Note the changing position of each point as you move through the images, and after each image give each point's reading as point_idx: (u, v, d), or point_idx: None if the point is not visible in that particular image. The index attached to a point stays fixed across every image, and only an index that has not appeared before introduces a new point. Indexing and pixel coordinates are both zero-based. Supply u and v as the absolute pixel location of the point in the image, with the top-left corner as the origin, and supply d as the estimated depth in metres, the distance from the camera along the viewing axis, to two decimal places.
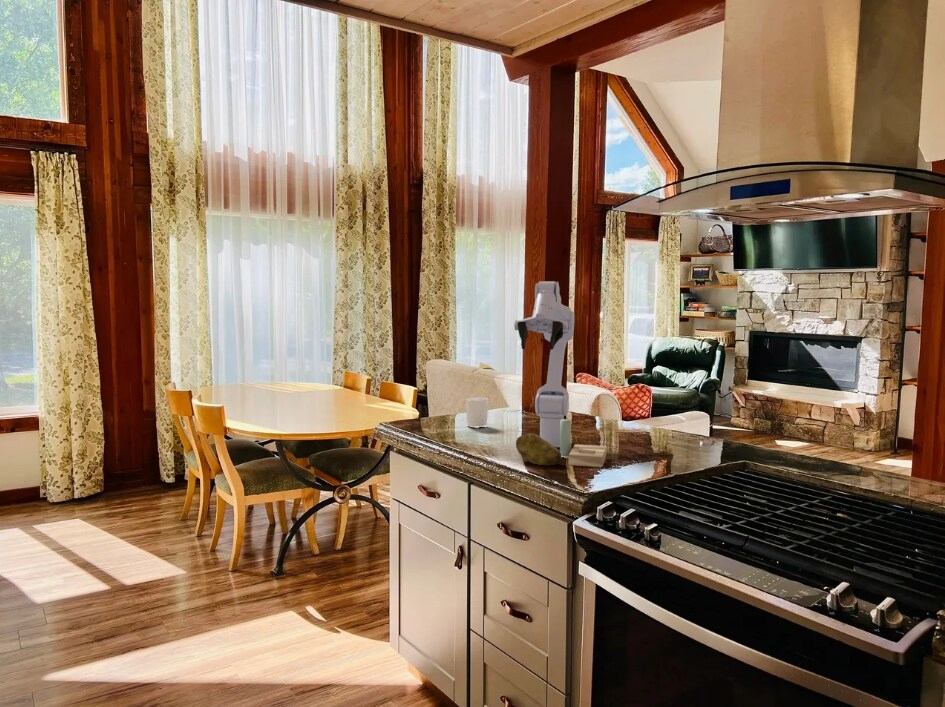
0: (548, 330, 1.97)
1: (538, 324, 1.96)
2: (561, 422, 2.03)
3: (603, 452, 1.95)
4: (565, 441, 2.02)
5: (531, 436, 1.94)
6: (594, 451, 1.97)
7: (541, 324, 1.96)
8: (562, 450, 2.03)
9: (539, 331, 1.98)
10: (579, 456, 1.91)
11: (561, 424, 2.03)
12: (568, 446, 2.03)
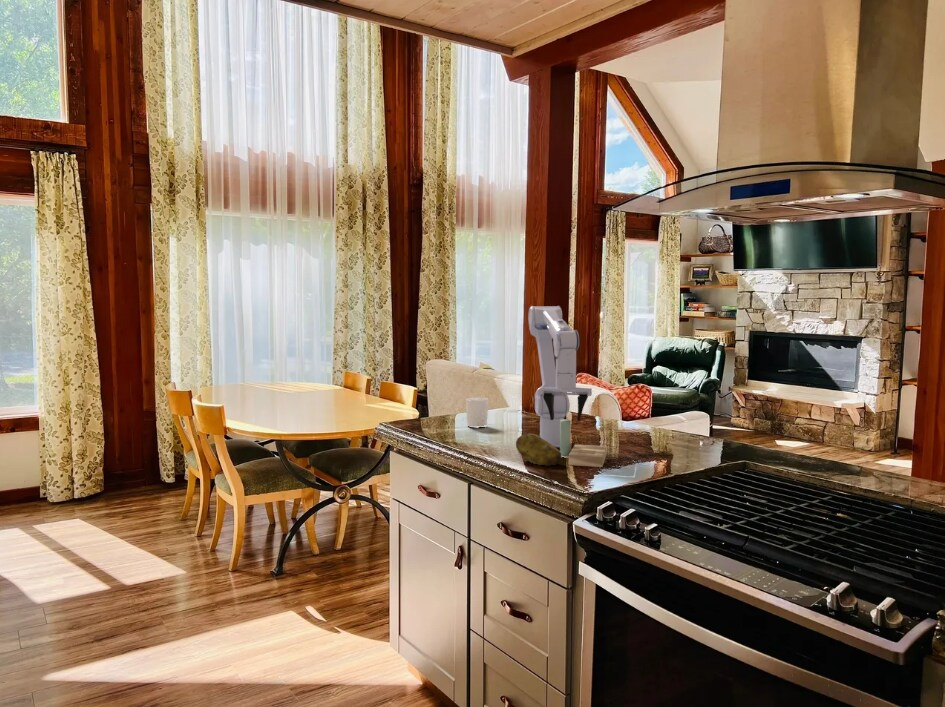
0: None
1: None
2: (561, 422, 2.03)
3: (603, 452, 1.95)
4: (565, 441, 2.02)
5: (531, 436, 1.94)
6: (594, 451, 1.97)
7: None
8: (562, 450, 2.03)
9: None
10: (579, 456, 1.91)
11: (561, 424, 2.03)
12: (568, 446, 2.03)
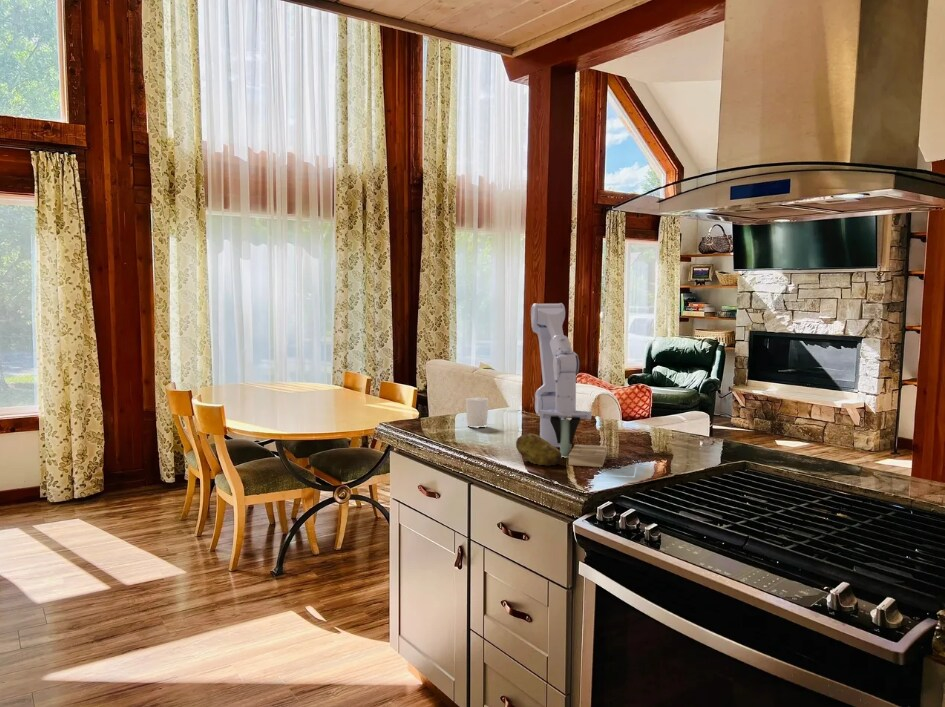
0: None
1: None
2: (561, 422, 2.03)
3: (603, 452, 1.95)
4: (565, 441, 2.02)
5: (531, 436, 1.94)
6: (594, 451, 1.97)
7: None
8: (562, 450, 2.03)
9: None
10: (579, 456, 1.91)
11: (561, 424, 2.03)
12: (568, 446, 2.03)
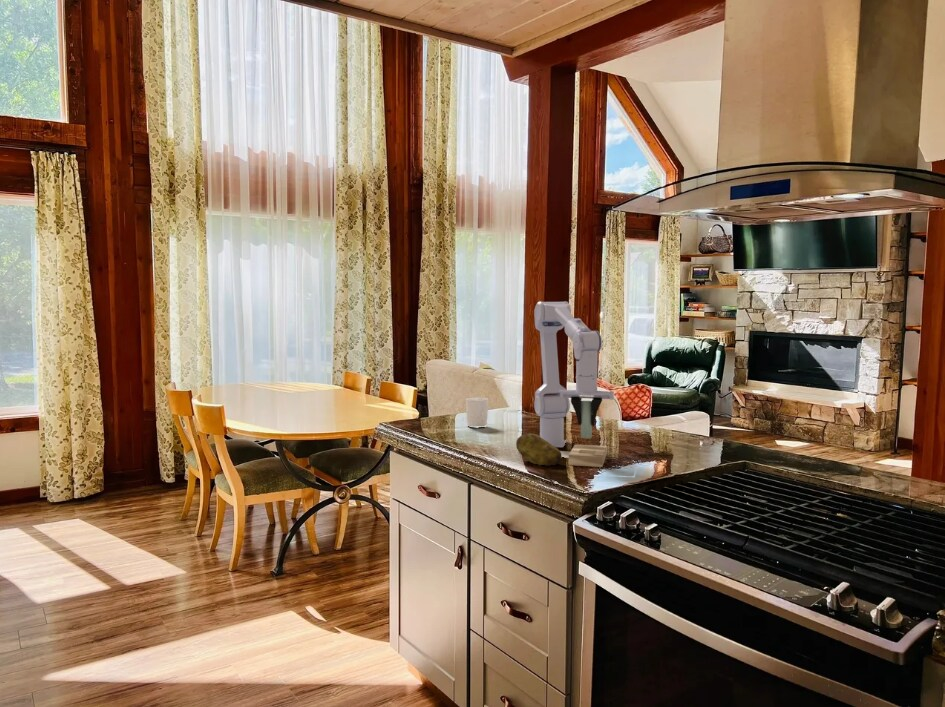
0: None
1: None
2: (582, 403, 1.94)
3: (603, 452, 1.95)
4: (587, 423, 1.94)
5: (531, 436, 1.94)
6: (594, 451, 1.97)
7: None
8: (583, 432, 1.94)
9: None
10: (579, 456, 1.91)
11: (582, 405, 1.94)
12: (590, 428, 1.94)
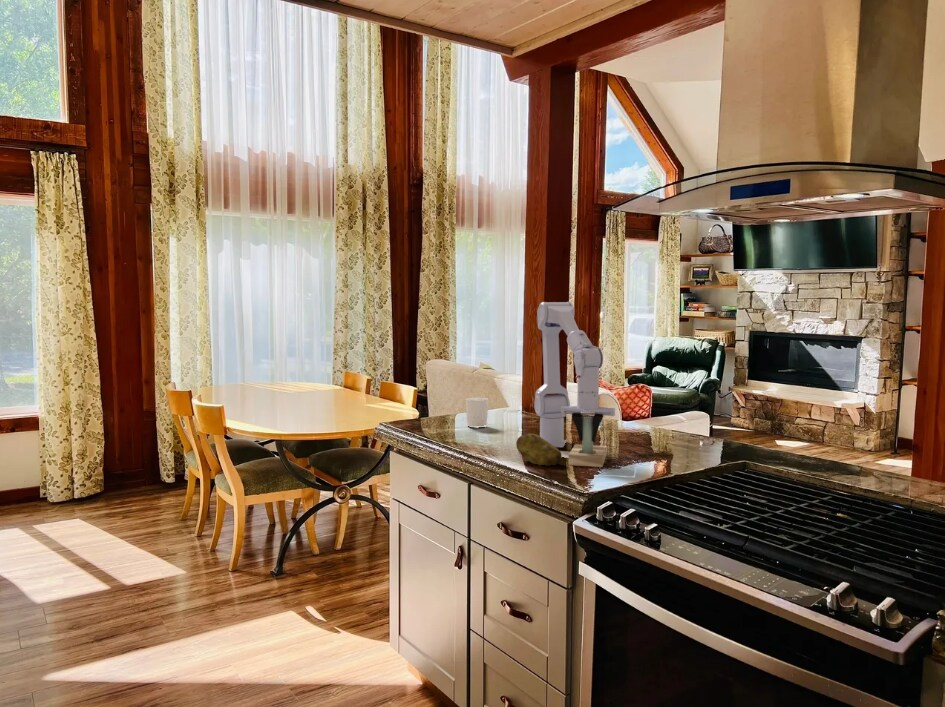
0: None
1: None
2: (583, 420, 1.94)
3: (603, 452, 1.95)
4: (588, 439, 1.94)
5: (531, 436, 1.94)
6: (594, 451, 1.97)
7: None
8: (585, 449, 1.94)
9: None
10: (579, 456, 1.91)
11: (583, 422, 1.94)
12: (591, 445, 1.94)
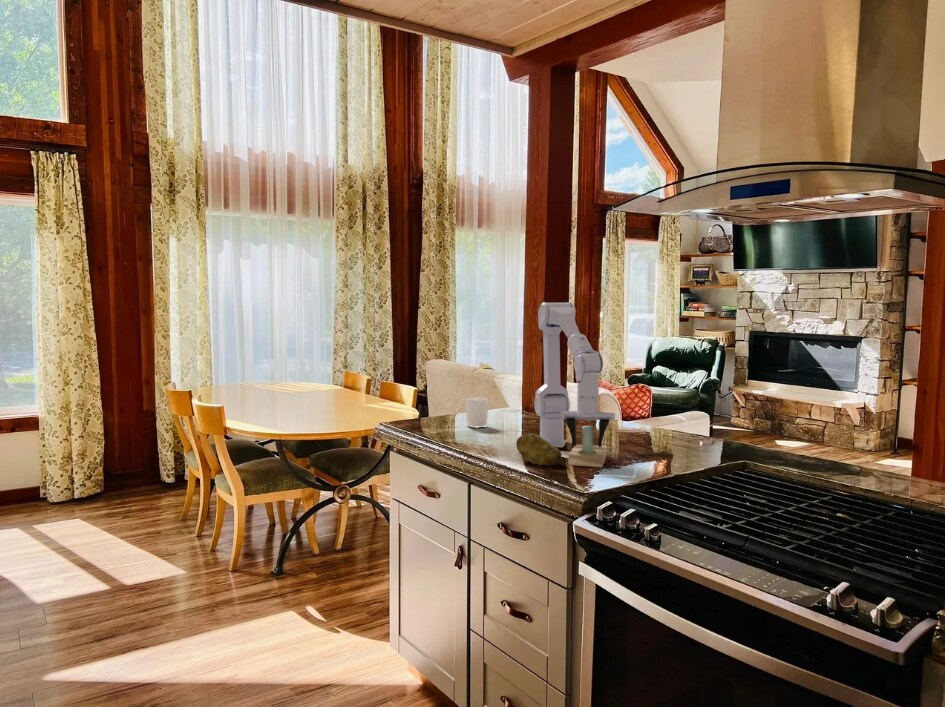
0: None
1: None
2: (583, 429, 1.94)
3: (603, 452, 1.95)
4: (588, 448, 1.94)
5: (531, 436, 1.94)
6: (594, 451, 1.97)
7: None
8: None
9: None
10: (579, 456, 1.91)
11: (583, 431, 1.94)
12: None
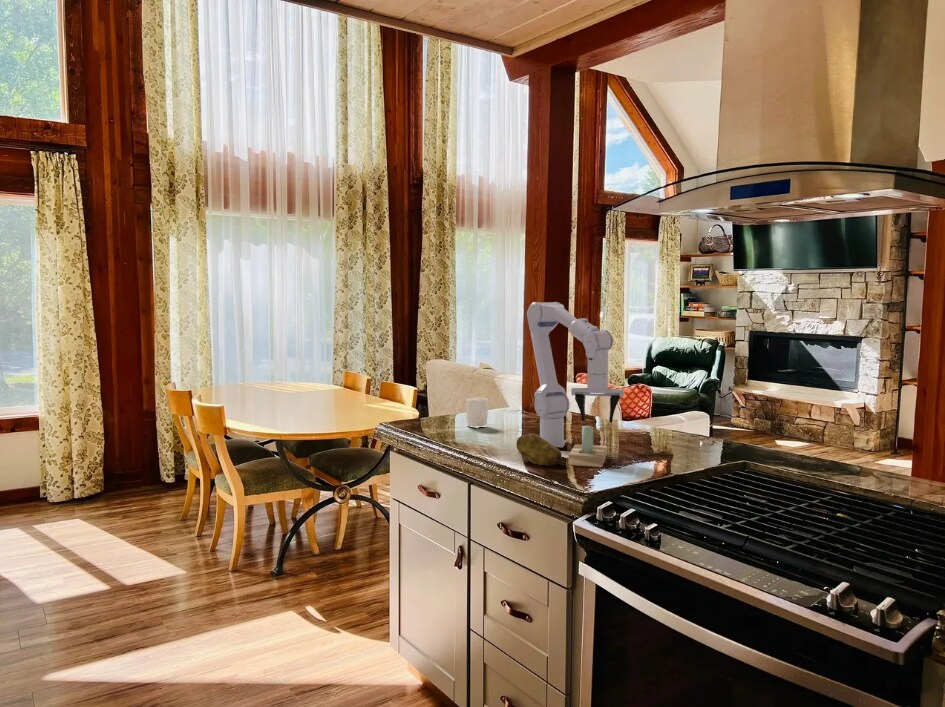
0: None
1: None
2: (583, 429, 1.94)
3: (603, 452, 1.95)
4: (588, 448, 1.94)
5: (532, 436, 1.94)
6: (594, 451, 1.97)
7: None
8: None
9: None
10: (579, 456, 1.91)
11: (583, 431, 1.94)
12: None
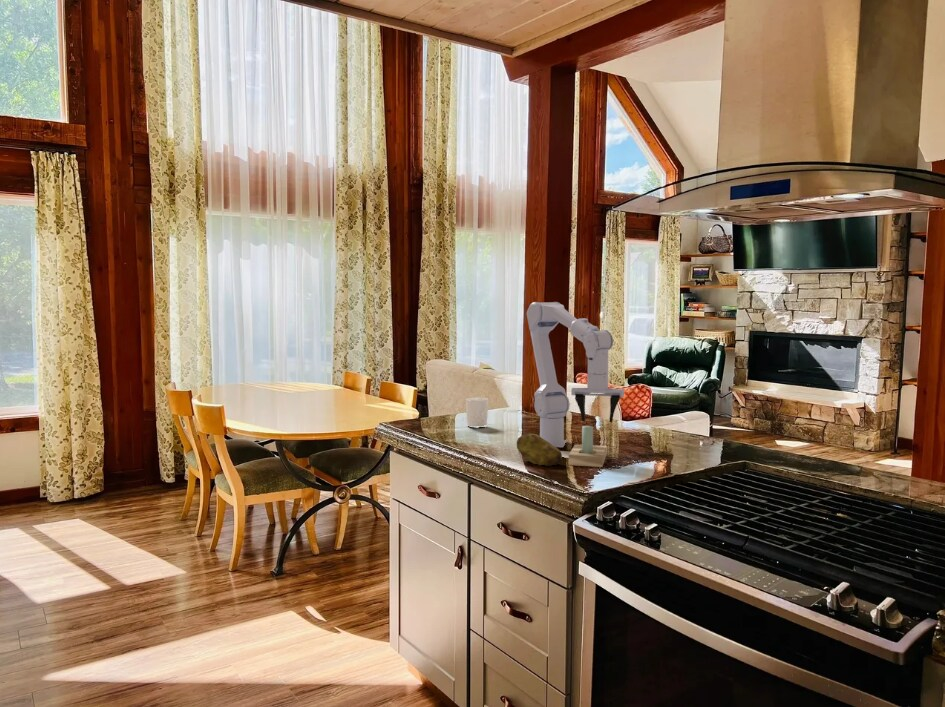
0: None
1: None
2: (583, 429, 1.94)
3: (603, 452, 1.95)
4: (588, 448, 1.94)
5: (532, 436, 1.94)
6: (594, 451, 1.97)
7: None
8: None
9: None
10: (579, 456, 1.91)
11: (583, 431, 1.94)
12: None
